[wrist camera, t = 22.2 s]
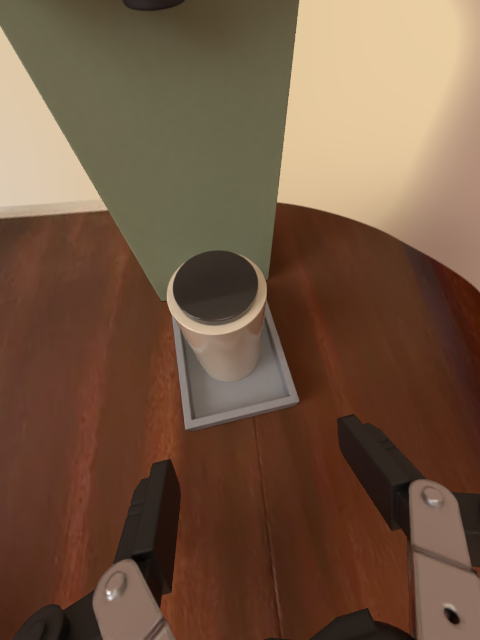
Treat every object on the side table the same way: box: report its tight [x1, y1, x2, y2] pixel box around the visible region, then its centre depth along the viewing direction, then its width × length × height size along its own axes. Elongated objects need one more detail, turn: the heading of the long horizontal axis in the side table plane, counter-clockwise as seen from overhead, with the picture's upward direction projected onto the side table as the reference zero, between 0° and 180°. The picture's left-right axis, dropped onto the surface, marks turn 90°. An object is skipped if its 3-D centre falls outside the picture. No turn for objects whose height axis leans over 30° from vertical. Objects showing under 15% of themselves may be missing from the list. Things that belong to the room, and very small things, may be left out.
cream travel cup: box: [167, 250, 267, 382], centre depth 19 cm, size 6×6×11 cm
